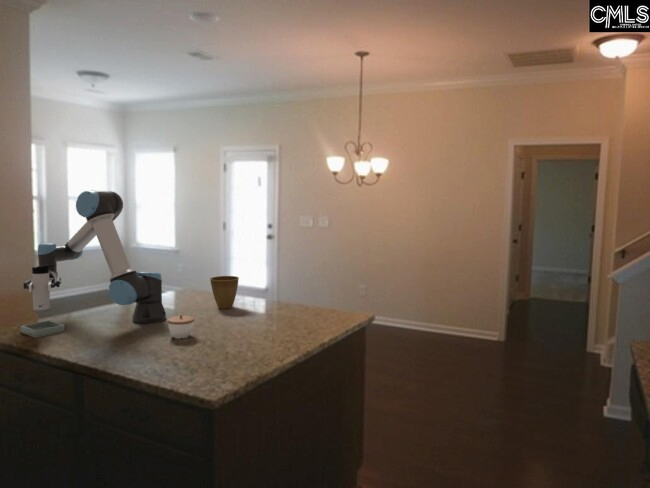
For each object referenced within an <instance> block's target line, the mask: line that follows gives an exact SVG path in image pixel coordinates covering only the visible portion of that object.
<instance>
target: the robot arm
mask: <svg viewBox="0 0 650 488" xmlns="http://www.w3.org/2000/svg"><path fill="white" fill-rule="evenodd" d="M123 201H124V200H123V199H122V197H121V195H120V194H118V193H117V192H116V191H112V190H94V189H93V190H92V189H91V190H84V191H83V192H81V193H80V194H79V195H78V196H77V198H76V201H75V210H76V212H77V214H78V215H79V216H80V217H83V218H86V222H85V223H84V224H83V225H82V226H81V228H79V230H78V231H77V232H76V233H74V235H72V237H71V238H70V239H69V240H68V241H67V242H66V243H65V244H64V245H58V246H57V245H56V243H54V242H44V243H43V242H42V243H41V242H40V243H39V244H38V247H37V258H38V260H37V261H38V266H46V265H49V284H48V291H50V292H51V290H52V289H54V288H55V287H56V288H60V284H62V278H61V277H59V278H58V269H57V266H58V265H57V263H58V262H63V261H72V260H77V259H79V258H81V257H82V255H83V250H84V248H86V247H87V246H88V244H89V243H90V242H92V240H93V239H95V237H97V240H98V241H97V242H99V246H100V248H101V251H102V253H103V254H102V255H103V256H104V259H105V261H106V264H107V266H108V269H109V272H110V274H111V276H110V278H109V282H110V284H109V285H108V289H107V291H108V292H107V293H108V296H109V298H110V299H111V301H112V302H113V303H114V304H117V305H119V306H127V305H129V306H130V305H132V304H135V307H134V310H133V314H132V321H133V322H134V323H139V324H152V323H159V322H162V321H164V320H166V319H167V313H166V311H165V307H164V305H163V298H162V297H163V292H162V291H163V290H162V287H163V286H162V282H163V280H162V279H163V278H162V274H161V272H157V271H136V269H133V268H132V267H131V265H130V262H129V260H128V256H127V255H126V252H125V249H124V246H123V244H122V241H121V239H120V236H119V233H118V231H117V227H116V226H115V222H114V221H115V220H117V218H118V217H119V216H120V214H121V213H122V212H123V208H124V202H123ZM22 285H23V289H25V290H27V291H28V292H29V293H31V292H33V285H32V279H29V278H27V279H26V281H24V282H23V284H22Z"/></svg>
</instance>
